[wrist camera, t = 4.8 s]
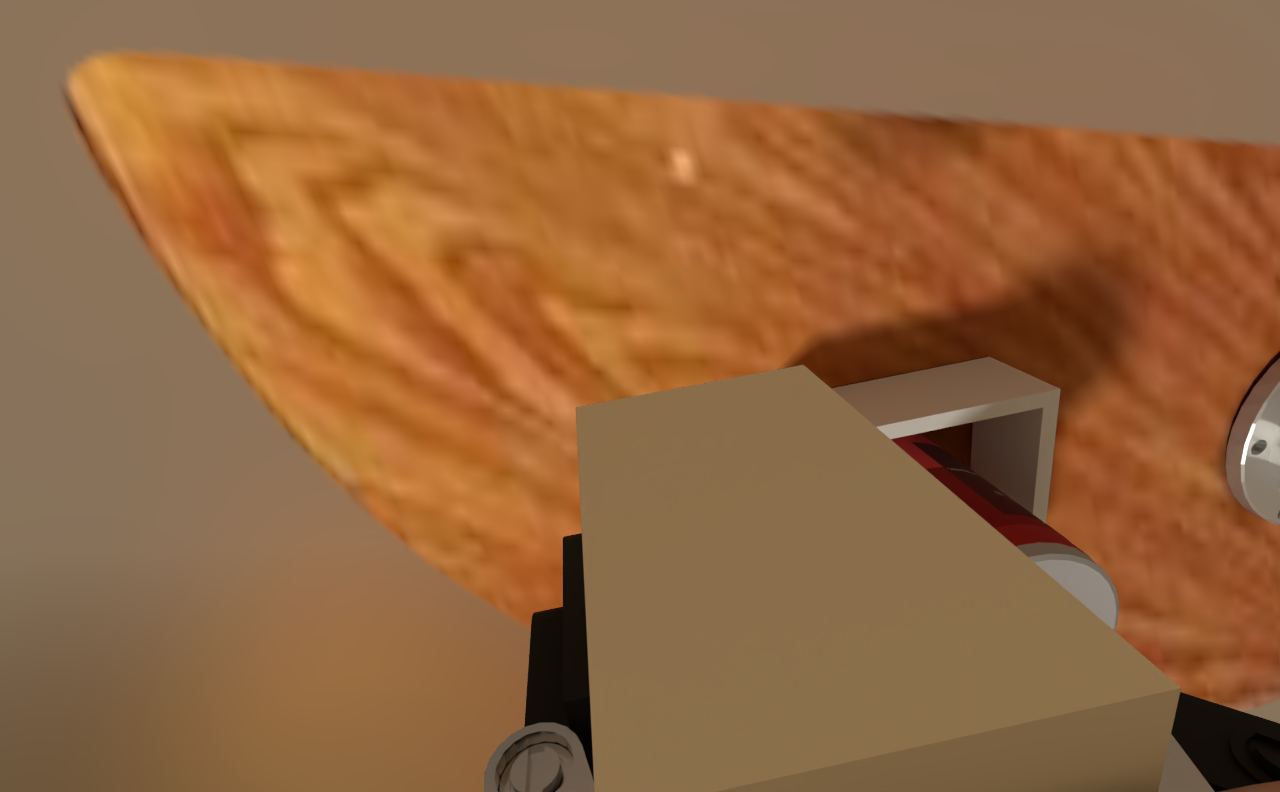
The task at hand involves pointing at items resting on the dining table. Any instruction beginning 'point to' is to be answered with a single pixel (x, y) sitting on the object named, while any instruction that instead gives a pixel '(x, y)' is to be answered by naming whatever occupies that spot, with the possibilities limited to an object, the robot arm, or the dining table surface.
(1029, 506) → the box
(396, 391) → the dining table surface
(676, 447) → the plain beige cuboid
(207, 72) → the dining table surface
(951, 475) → the canned food
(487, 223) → the dining table surface
